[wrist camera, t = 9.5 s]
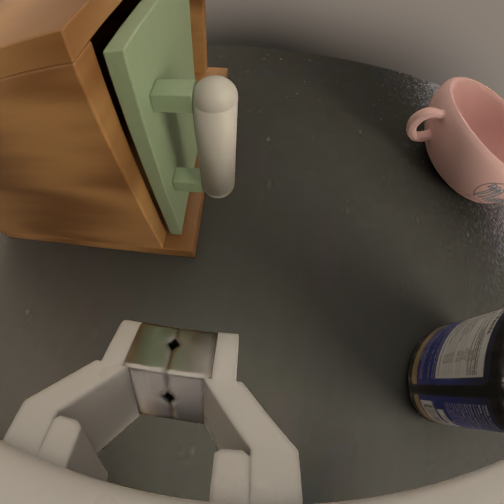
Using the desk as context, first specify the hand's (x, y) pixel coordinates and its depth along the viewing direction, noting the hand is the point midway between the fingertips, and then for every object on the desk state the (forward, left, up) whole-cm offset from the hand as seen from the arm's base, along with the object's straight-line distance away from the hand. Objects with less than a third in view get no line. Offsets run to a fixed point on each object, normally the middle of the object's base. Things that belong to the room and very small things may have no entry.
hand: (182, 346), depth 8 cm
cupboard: (+9, -13, -8) cm, 17 cm away
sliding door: (+1, -9, -7) cm, 12 cm away
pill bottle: (-14, +1, -9) cm, 17 cm away
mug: (-17, -15, -9) cm, 24 cm away
